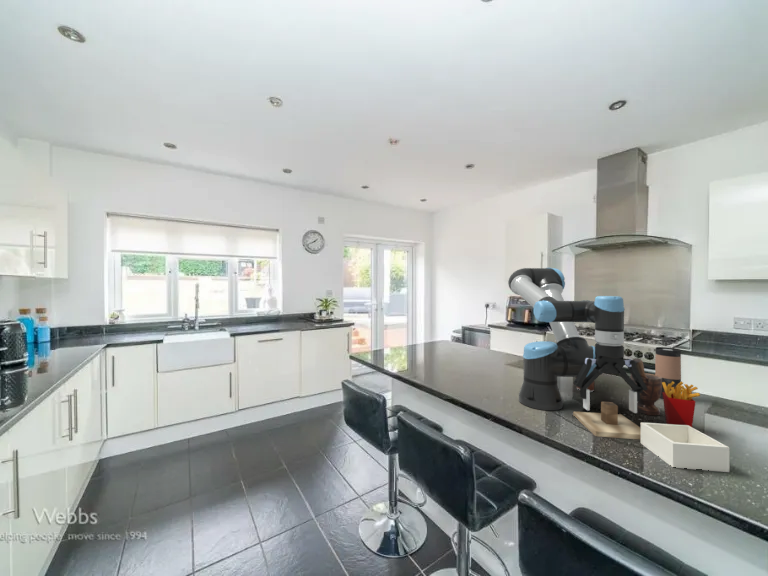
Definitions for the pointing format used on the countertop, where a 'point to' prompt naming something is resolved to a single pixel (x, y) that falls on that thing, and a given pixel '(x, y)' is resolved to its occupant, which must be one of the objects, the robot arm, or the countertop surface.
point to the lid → (609, 423)
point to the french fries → (679, 404)
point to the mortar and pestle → (648, 390)
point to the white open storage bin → (685, 447)
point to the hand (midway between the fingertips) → (609, 410)
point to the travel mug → (668, 366)
